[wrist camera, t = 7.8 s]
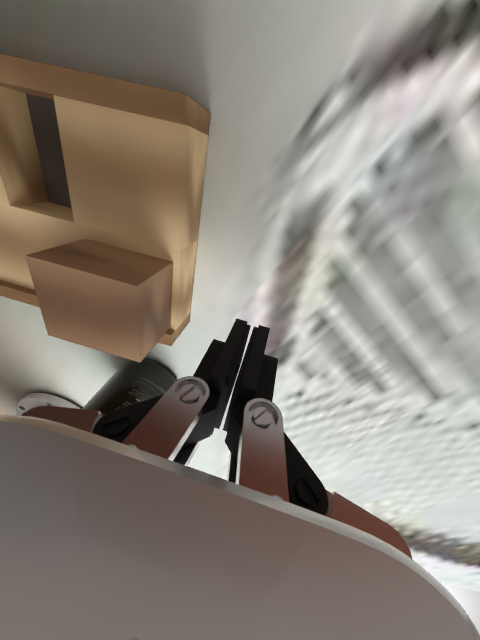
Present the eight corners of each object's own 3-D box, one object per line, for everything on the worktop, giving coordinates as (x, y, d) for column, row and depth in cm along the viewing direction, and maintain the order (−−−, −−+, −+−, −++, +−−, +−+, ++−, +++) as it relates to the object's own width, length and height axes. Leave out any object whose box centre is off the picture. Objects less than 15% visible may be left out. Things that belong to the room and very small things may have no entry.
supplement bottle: (111, 357, 25) (-15, 478, 15) (168, 354, 23) (68, 490, 13) (138, 404, 28) (48, 529, 18) (190, 404, 26) (123, 545, 16)
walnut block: (170, 327, 18) (140, 362, 14) (95, 305, 18) (48, 334, 15) (173, 261, 15) (136, 286, 12) (84, 238, 15) (24, 255, 12)
